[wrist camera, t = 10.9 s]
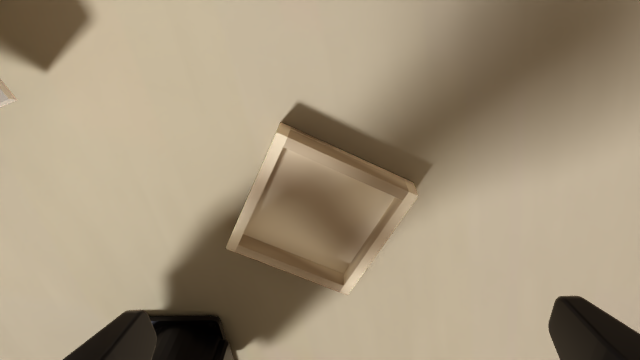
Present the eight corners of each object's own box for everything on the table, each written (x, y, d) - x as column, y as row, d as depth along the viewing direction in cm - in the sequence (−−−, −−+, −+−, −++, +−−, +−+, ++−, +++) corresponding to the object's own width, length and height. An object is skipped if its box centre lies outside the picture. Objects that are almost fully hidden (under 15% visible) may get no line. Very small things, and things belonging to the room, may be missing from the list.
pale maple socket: (347, 278, 24) (347, 295, 23) (231, 233, 23) (225, 248, 22) (413, 182, 21) (418, 196, 19) (280, 122, 19) (276, 132, 18)
